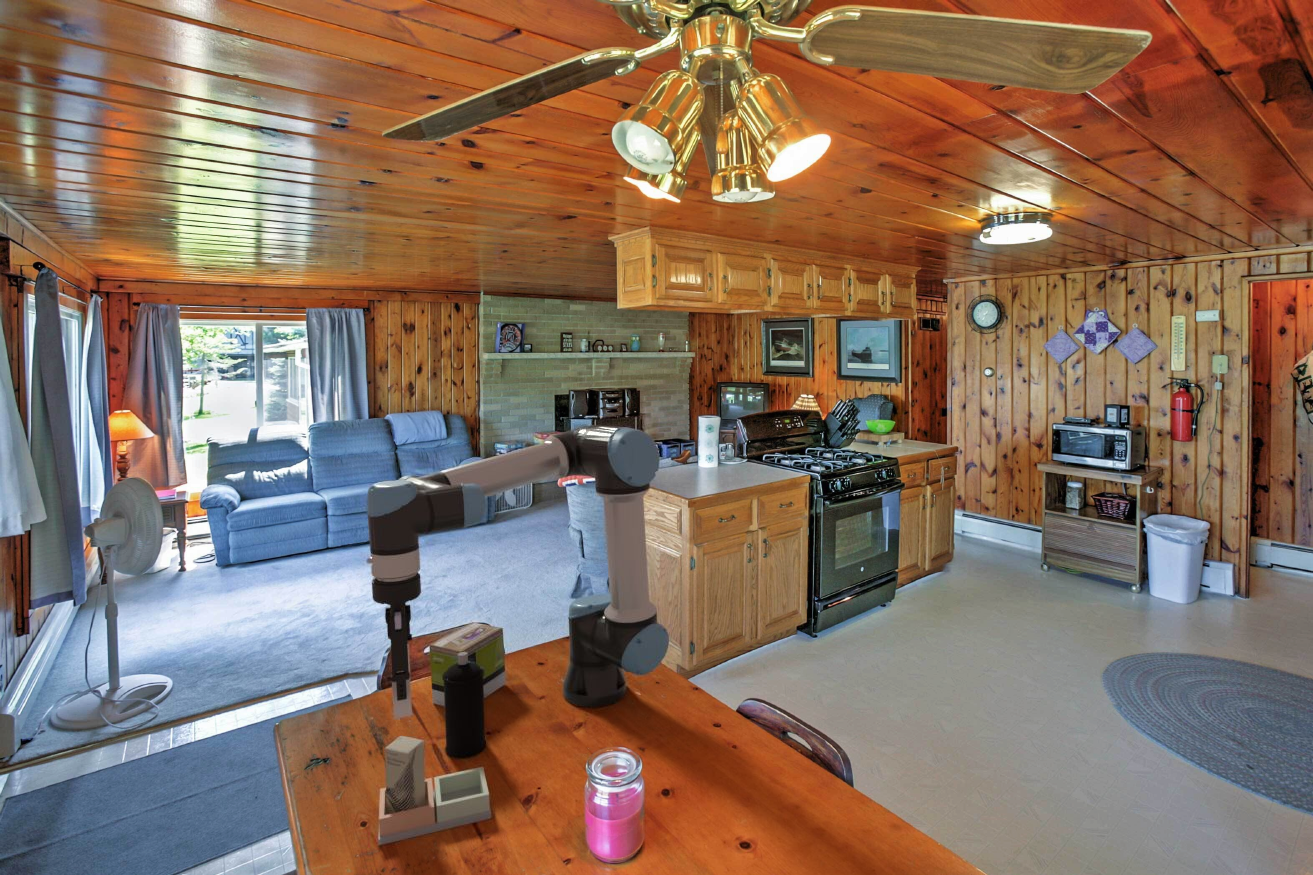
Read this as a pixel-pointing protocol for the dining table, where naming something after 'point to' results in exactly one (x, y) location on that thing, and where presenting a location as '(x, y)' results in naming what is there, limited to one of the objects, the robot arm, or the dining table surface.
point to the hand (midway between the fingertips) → (402, 696)
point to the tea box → (469, 656)
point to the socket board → (438, 807)
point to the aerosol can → (464, 708)
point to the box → (405, 774)
